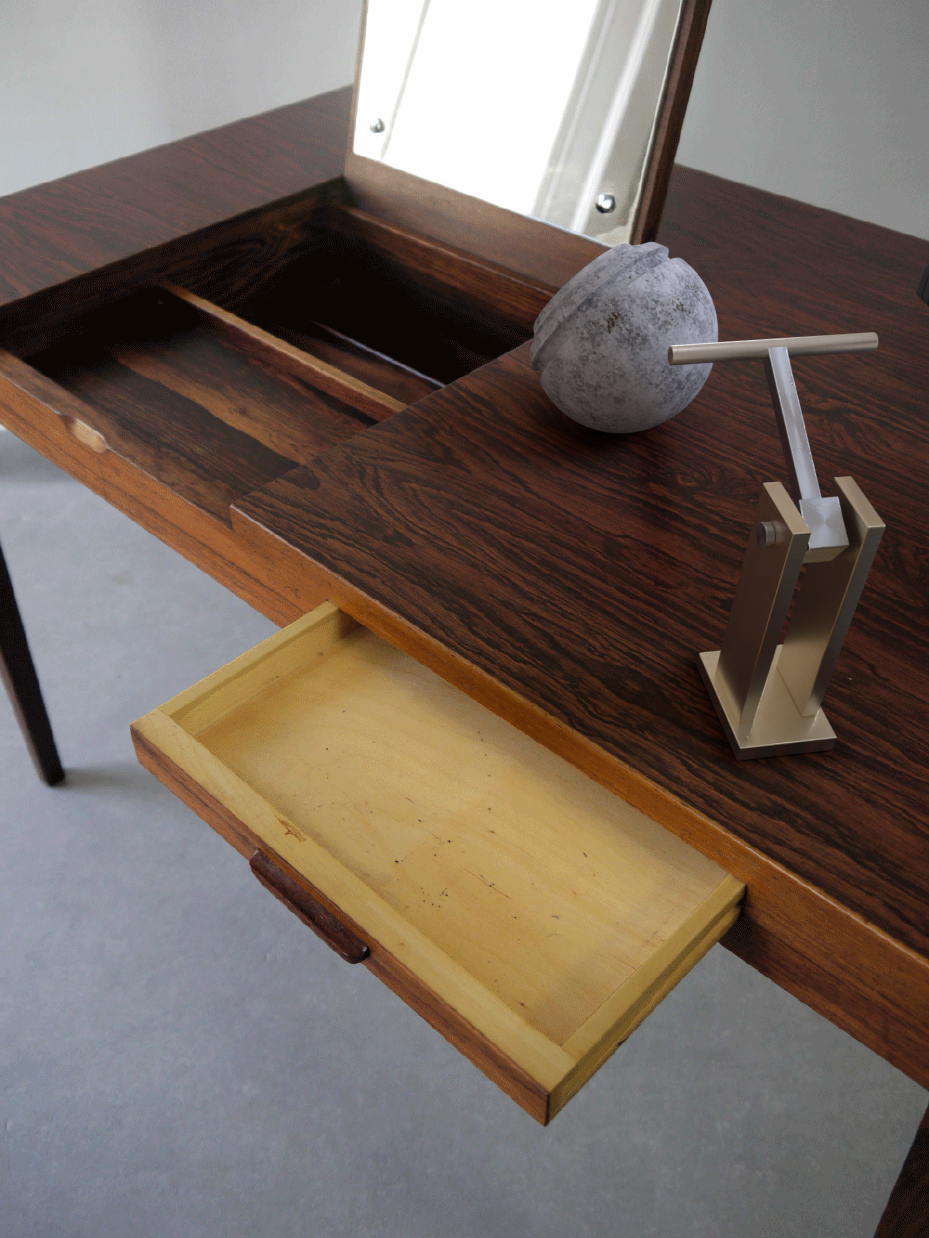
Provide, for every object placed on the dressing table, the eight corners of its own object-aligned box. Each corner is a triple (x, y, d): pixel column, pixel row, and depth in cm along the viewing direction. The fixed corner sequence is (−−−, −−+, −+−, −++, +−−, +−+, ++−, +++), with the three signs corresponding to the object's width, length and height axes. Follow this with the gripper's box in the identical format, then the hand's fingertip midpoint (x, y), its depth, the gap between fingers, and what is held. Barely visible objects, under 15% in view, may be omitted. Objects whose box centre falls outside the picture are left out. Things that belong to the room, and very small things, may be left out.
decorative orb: (599, 357, 97) (617, 193, 87) (734, 416, 90) (772, 246, 80) (492, 421, 89) (498, 249, 79) (632, 492, 82) (659, 314, 72)
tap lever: (662, 358, 60) (674, 335, 58) (862, 345, 61) (881, 322, 59) (704, 572, 56) (718, 557, 54) (916, 553, 58) (938, 537, 55)
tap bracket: (695, 665, 68) (742, 463, 57) (783, 656, 69) (846, 455, 58) (736, 761, 63) (797, 557, 52) (832, 750, 63) (912, 547, 52)
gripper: (1171, 158, 62) (893, 170, 60) (1337, 255, 53) (1013, 273, 51) (1116, 279, 67) (858, 294, 65) (1257, 387, 58) (960, 408, 56)
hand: (926, 285), depth 58 cm, fingers closed
